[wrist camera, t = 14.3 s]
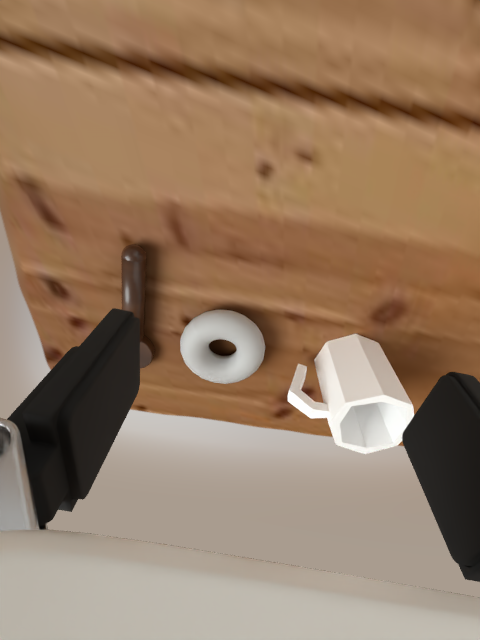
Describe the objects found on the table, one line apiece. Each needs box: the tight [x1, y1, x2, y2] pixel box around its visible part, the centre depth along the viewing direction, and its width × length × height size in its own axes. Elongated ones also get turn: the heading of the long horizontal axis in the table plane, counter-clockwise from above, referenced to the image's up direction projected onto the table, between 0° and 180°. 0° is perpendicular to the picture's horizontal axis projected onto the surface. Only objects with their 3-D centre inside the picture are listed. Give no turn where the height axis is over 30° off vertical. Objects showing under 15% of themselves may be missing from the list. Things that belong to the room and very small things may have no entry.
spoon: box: [122, 245, 155, 368], centre depth 35 cm, size 16×5×2 cm, turn 169°
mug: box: [288, 334, 414, 454], centre depth 35 cm, size 12×9×10 cm
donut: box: [180, 309, 265, 384], centre depth 37 cm, size 10×4×10 cm
